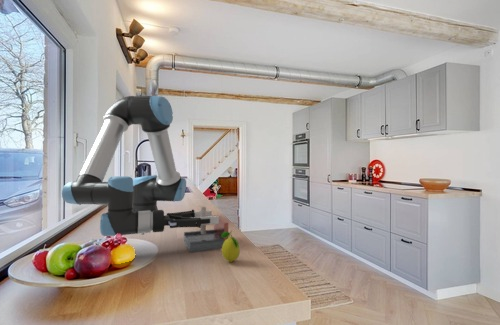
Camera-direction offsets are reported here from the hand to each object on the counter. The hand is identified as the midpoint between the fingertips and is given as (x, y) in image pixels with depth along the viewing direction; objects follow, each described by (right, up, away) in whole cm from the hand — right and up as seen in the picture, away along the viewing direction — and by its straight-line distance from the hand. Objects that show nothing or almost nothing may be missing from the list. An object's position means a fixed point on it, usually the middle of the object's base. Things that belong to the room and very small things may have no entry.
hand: (214, 216), depth 99 cm
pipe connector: (-4, -6, -2) cm, 8 cm away
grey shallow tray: (-4, -10, -2) cm, 11 cm away
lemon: (+7, -10, -19) cm, 22 cm away
